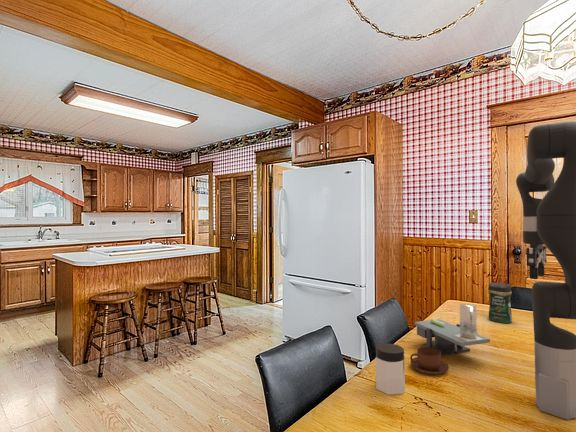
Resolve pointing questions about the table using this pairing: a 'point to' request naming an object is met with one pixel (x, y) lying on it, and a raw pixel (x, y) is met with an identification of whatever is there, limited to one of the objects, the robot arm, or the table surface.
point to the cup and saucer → (429, 361)
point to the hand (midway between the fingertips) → (537, 277)
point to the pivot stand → (444, 344)
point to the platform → (447, 332)
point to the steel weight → (468, 321)
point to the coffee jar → (500, 302)
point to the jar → (390, 369)
